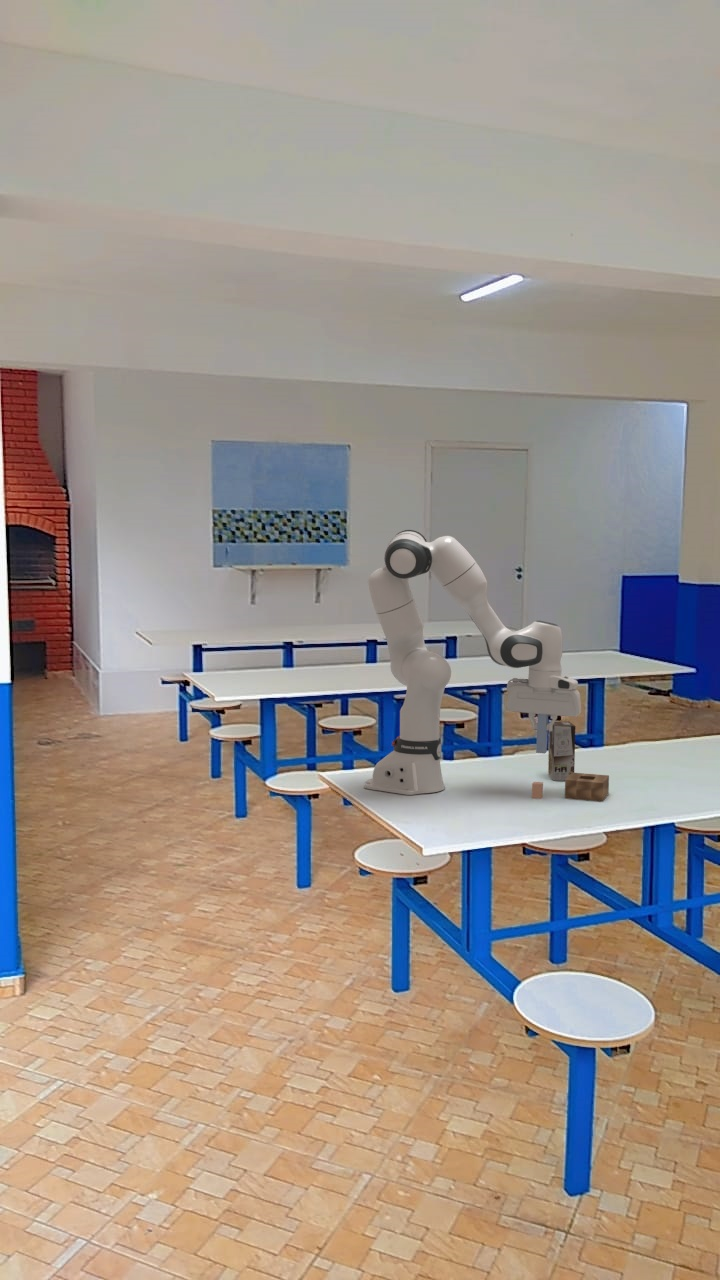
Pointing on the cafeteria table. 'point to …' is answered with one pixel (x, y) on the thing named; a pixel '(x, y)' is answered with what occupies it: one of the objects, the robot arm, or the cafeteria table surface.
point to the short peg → (537, 790)
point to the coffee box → (561, 750)
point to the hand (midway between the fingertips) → (542, 730)
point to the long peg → (541, 733)
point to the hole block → (587, 786)
